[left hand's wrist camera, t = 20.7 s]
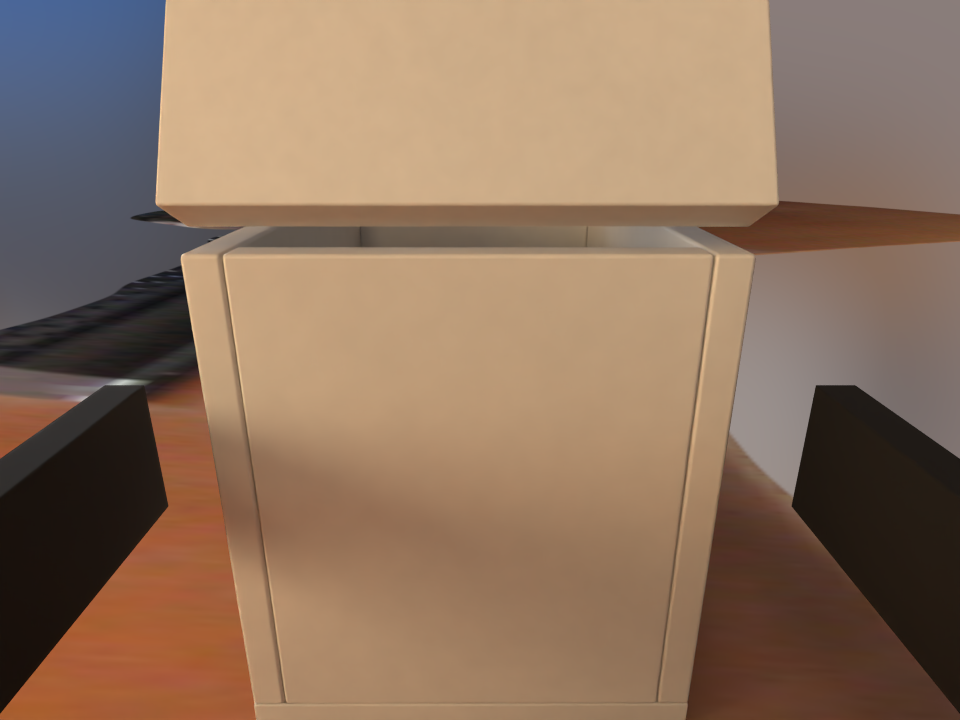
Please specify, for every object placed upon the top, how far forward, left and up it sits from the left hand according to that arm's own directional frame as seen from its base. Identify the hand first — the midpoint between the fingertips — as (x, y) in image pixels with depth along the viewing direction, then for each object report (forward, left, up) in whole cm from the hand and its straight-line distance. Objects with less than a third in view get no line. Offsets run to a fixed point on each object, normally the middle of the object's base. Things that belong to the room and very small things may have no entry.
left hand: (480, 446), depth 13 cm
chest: (-3, +5, -7) cm, 9 cm away
